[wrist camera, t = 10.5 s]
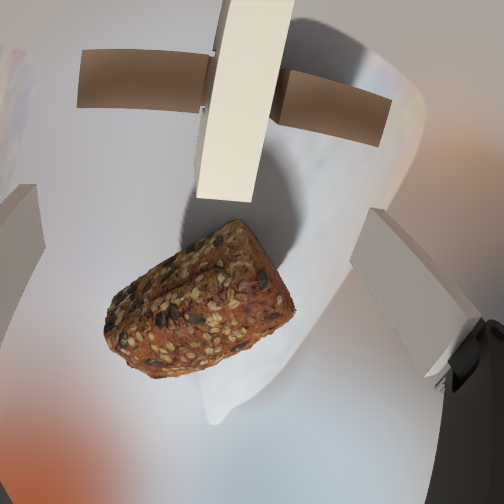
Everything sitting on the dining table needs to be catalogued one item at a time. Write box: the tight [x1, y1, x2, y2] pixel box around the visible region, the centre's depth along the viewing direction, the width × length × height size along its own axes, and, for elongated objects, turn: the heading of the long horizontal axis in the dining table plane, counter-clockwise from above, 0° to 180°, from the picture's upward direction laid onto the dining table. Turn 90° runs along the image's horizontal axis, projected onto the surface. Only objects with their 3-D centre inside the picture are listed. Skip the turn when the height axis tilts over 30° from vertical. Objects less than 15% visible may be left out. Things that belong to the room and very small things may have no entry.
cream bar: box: [194, 0, 295, 203], centre depth 22 cm, size 16×4×8 cm, turn 169°
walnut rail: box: [77, 49, 392, 147], centre depth 22 cm, size 4×22×8 cm, turn 79°
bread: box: [104, 220, 297, 379], centre depth 33 cm, size 19×11×10 cm, turn 119°
